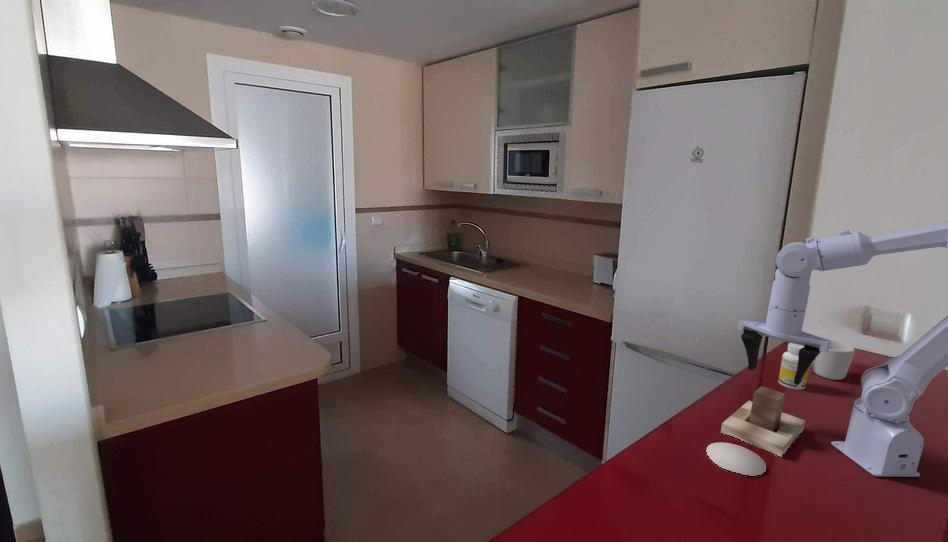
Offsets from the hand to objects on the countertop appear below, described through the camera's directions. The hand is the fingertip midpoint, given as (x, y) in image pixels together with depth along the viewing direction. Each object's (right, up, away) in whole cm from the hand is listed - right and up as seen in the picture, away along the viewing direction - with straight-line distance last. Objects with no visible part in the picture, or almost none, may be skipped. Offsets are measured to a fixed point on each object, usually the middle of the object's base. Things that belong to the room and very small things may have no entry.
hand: (774, 375), depth 90 cm
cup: (+29, -6, +27) cm, 40 cm away
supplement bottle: (+17, -7, +20) cm, 27 cm away
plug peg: (-2, -11, 0) cm, 11 cm away
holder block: (-2, -11, 0) cm, 11 cm away
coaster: (-13, -12, -9) cm, 20 cm away
